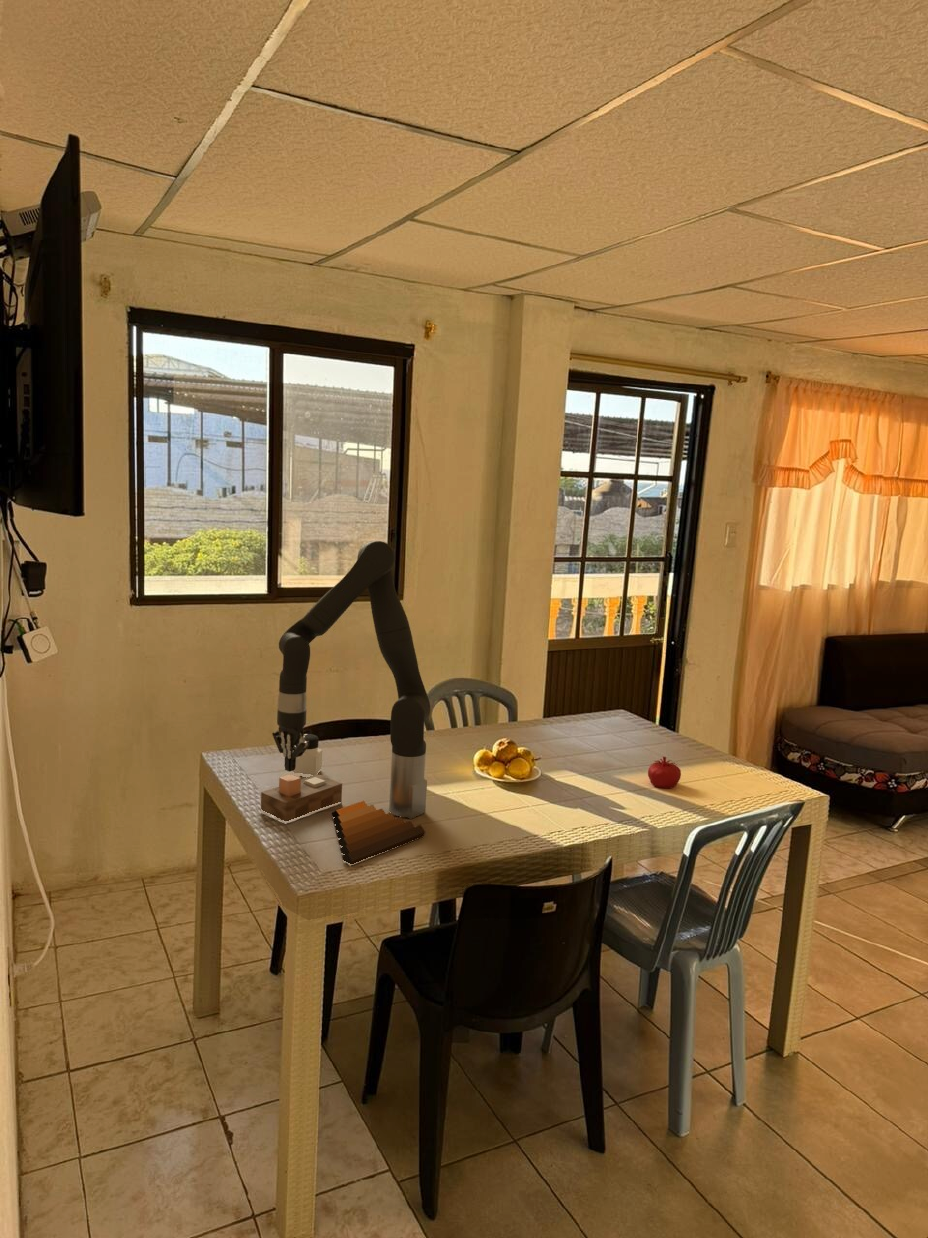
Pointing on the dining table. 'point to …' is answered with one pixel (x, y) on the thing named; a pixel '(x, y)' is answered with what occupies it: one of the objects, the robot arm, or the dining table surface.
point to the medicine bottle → (309, 757)
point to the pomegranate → (664, 774)
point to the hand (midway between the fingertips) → (289, 770)
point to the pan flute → (371, 831)
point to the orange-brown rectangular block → (289, 785)
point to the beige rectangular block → (314, 782)
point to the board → (301, 799)
